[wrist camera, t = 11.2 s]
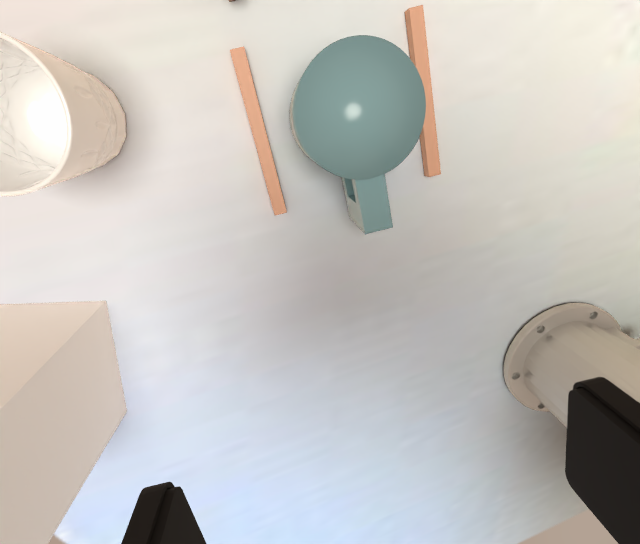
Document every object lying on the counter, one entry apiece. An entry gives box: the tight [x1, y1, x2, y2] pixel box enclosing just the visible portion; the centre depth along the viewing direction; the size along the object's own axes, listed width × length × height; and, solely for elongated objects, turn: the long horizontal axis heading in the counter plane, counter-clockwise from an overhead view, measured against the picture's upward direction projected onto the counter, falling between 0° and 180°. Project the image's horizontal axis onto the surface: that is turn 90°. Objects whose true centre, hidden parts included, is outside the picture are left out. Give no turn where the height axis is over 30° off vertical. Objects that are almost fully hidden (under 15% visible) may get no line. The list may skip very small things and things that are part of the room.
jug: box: [289, 35, 426, 234], centre depth 27 cm, size 8×12×8 cm
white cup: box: [0, 32, 126, 196], centre depth 23 cm, size 8×8×10 cm
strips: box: [230, 5, 441, 215], centre depth 30 cm, size 14×12×1 cm
